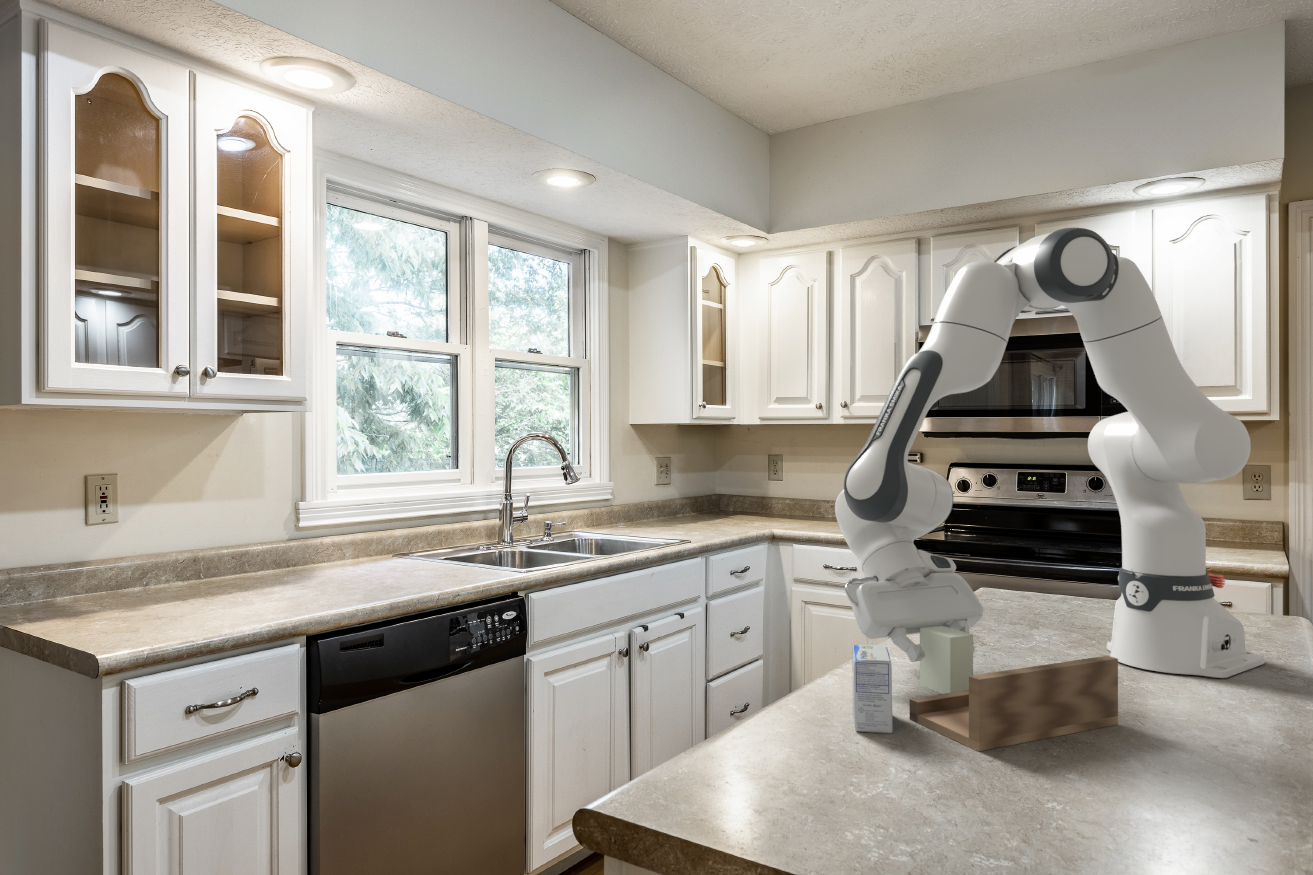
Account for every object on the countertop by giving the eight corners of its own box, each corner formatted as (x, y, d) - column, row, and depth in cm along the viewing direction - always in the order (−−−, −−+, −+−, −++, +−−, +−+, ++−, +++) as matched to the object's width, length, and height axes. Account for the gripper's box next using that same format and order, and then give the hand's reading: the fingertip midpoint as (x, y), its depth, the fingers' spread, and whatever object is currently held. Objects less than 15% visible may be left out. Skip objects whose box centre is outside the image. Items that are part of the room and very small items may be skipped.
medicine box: (892, 735, 98) (892, 661, 98) (853, 732, 99) (853, 659, 99) (887, 713, 105) (888, 644, 105) (851, 710, 106) (851, 643, 106)
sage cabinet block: (942, 681, 119) (942, 625, 119) (973, 693, 113) (973, 634, 113) (919, 684, 117) (919, 627, 117) (950, 696, 112) (950, 637, 112)
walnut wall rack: (1040, 696, 112) (1040, 637, 112) (1118, 724, 101) (1118, 658, 101) (909, 718, 103) (909, 654, 103) (978, 751, 92) (978, 679, 92)
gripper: (849, 566, 119) (894, 651, 110) (960, 558, 127) (1010, 636, 118) (831, 592, 123) (872, 676, 114) (940, 582, 131) (987, 660, 122)
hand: (944, 655), depth 116 cm, fingers open, 7 cm apart
